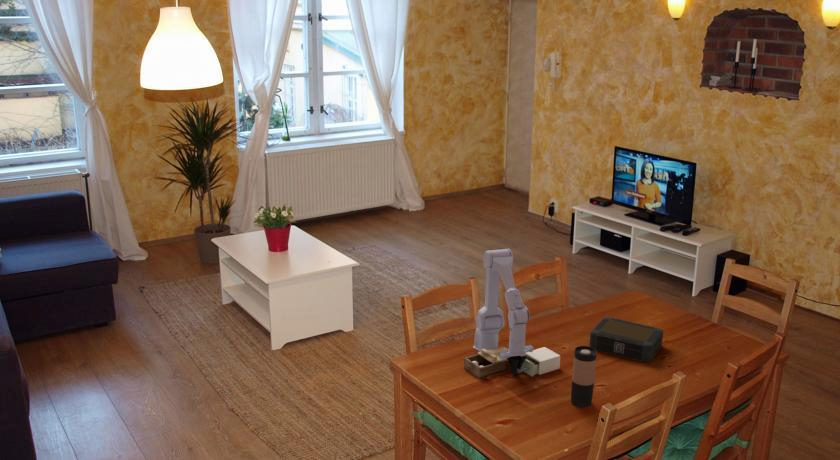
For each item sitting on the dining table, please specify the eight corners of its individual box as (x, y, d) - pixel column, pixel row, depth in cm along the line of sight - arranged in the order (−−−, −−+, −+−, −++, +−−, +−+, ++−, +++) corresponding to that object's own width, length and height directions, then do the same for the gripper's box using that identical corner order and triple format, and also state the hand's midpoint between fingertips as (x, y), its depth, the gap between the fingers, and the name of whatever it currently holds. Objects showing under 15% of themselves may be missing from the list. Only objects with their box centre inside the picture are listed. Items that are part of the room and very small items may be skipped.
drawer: (506, 373, 306) (507, 358, 304) (536, 364, 313) (537, 349, 312) (521, 382, 299) (522, 367, 297) (551, 372, 307) (552, 358, 305)
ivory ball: (468, 368, 308) (468, 360, 307) (475, 366, 310) (475, 358, 309) (473, 371, 305) (473, 363, 304) (480, 369, 307) (480, 362, 306)
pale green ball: (475, 372, 304) (475, 365, 303) (482, 370, 306) (482, 363, 305) (480, 376, 302) (481, 368, 301) (487, 374, 304) (487, 366, 303)
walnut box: (463, 369, 308) (464, 358, 307) (488, 361, 315) (489, 351, 313) (479, 379, 300) (480, 368, 299) (505, 372, 307) (506, 360, 305)
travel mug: (567, 397, 289) (571, 345, 283) (588, 397, 290) (593, 345, 284) (573, 408, 282) (577, 355, 276) (594, 407, 282) (599, 355, 276)
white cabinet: (523, 368, 310) (524, 352, 308) (543, 362, 316) (544, 346, 314) (539, 377, 303) (540, 361, 301) (559, 371, 308) (560, 355, 306)
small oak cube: (525, 369, 307) (526, 361, 306) (531, 367, 308) (532, 360, 307) (530, 372, 304) (531, 365, 303) (537, 370, 306) (537, 363, 305)
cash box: (587, 349, 328) (588, 332, 326) (603, 332, 345) (604, 315, 342) (649, 365, 316) (651, 346, 314) (662, 346, 333) (664, 328, 331)
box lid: (477, 354, 310) (477, 348, 310) (502, 347, 317) (502, 341, 316) (493, 364, 302) (494, 358, 302) (518, 356, 309) (519, 351, 308)
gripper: (508, 347, 291) (506, 382, 295) (539, 338, 299) (537, 372, 303) (496, 340, 296) (494, 374, 300) (526, 332, 304) (524, 365, 308)
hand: (515, 373), depth 302 cm, fingers closed, pressing on drawer
